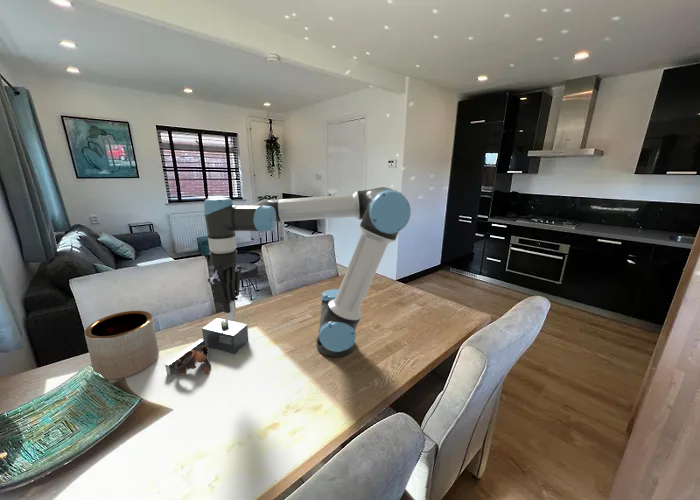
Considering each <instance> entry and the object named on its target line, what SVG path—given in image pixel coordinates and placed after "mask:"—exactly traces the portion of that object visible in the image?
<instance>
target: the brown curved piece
mask: <svg viewBox="0 0 700 500" xmlns="http://www.w3.org/2000/svg"><path fill="white" fill-rule="evenodd" d="M191 354H192V356H191V358H190V359H189V360H188V361H187V362H186V363H185V364H183V363H182V362H183V361H184V360H185V359H186V358H187V357H188V356H189V355H191ZM208 354H209V348H208V347H207V346H205V345H203V346H200V347H199V348H198V349H197V350H196V351H194V350H190V351H188V352H186V353H185V354H183V355H182V356H181V357H180V358H179V359H180V360H181V361H180V363H179V362H178V361H177V362H176V364H175V369H176V370H177V371H176V374H177V375H185V376H187V374H188V373H187V371H188V370H194V369H196V368H197V366H196V363H195V361H196V362H197V363H200V364H202V363H203V364H204V365H205V366H204V369H202V371H203V372H204V373H205V375H208V374H209V373H210V371H211V368H212V365H211V363H210V360H209V359H208ZM187 369H188V370H187Z"/></svg>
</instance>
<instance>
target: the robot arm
mask: <svg viewBox="0 0 700 500" xmlns="http://www.w3.org/2000/svg"><path fill="white" fill-rule="evenodd" d="M203 209H204V210H203V211H204V213H203V215H204V218H205V226H206V232H207V233H206V235H207V241H208V250H209V258H210V264H211V265H212V266H213V271H212V272H213V275H212V277H208V278H207V282H208V283H209V284H210V286H211V288H212V292H213V294H214V297H215V300H216V302H217V304H220V305H222V306H223V312H224V314H225V320H228V321H234V322H235V320H237V315H236V301H238V298H239V297H238V296H239V295H240V283H241V272H242V270H243V267H242V266H241V265H237V262H238V260H239V259H238V250H237V248H238V246H237V236H236V232H260V233H264V232H272V231H274V230H275V228H276V225H277V223H280V222H281V223H282V222H295V221H296V222H297V221H309V220H310V221H311V220H323V219H324V220H327V219H338V218H339V219H341V218H342V219H343V218H356V219H357V220H361V222H360V224H359V228H360V230H361V235H360V237H359V240H358V242H357V244H356V247H355V250H354V252H353V254H352V256H351V258H350V259H351V260H350V262H349V264H348V265H347V269H346V271H345V275H344V277H343V280H342V282H341V284H340V286H339V288H334V289H327V290H325V291H323V292H322V294H321V298H320V301H321V303H320V304H321V305H320V321H319V330H318V333H317V334H318V335H317V338H316V340H315V341H316V342H315V343H316V345H315V347H316V349H317V352H319V353H320V354H322V355H324V356H326V357H328V358H329V357H330V358H342V357H346V356H348V355H349V354H351V353H352V352H353V351H354V348H355V341H356V337H357V335H356V334H357V333H356V330H357V326H358V325H359V323H360V320H361V317H362V311H361V310H360V309H361V307H362V304H363V301H364V300H365V297H366V295H367V292H368V291H369V288H370V286H371V283H372V281H373V279H374V276H375V275H376V272H377V271H378V270H377V269H378V267H379V266H380V263H381V261H382V258H383V257H384V254H385V252H386V251H387V250H386V249H387V247H388V246H389V245H388V244H391V243H392V242H395V241H396V239H397V237H398V235H399V233H400V231H402V230H403V229H404V228H405V227H406V226H407V225H408V223H409V222H410V220H411V214H412V211H411V210H412V209H411V206H410V203H409V201H408V199H407V198H406V196H405V195H403V193H402V192H400V191H398V190H395V189H392V188H389V187H384V186H382V187H376V188H370V189H365V190H356V191H355V192H354V193H352V194H351V193H350V194H340V195H339V194H338V195H337V194H336V195H325V196H311V197H298V198H283V199H268V198H267V199H261V200H259V201H258V202H255V203H253V204H251V205H249V204H248V205H238V204H237V205H236V204H234V203H233V199H231V198H230V197H221V196H219V197H210V198H206V199H204V202H203Z"/></svg>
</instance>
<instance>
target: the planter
mask: <svg viewBox="0 0 700 500" xmlns="http://www.w3.org/2000/svg"><path fill="white" fill-rule="evenodd" d="M156 335H157V334H156V331H155V324H154V320H153V315H152V314H151V313H150V312H148V311H145V310H129V311H122V312H117V313H114V314H109V315H107V316H105V317H102V318H99V319H97V320H96V321H93V322H92V323H91V324H90V325H88V326H87V327H86V328H85V330H84V337H85V340H86V344H87V345H86V346H87V349H88V353H89V357H90V358H89V359H90V363H91V367H92V370H94V371H95V372H97V373H99V374H101V375H102V376H103V377H104V378H106V379H105V380H118V379H123V378H126V377H130V376H132V375H135V374H137V373H139V372H141V371H144V370H145V369H147V368H148V367H149V366H151V364H153V363H154V362H155V361H156V360H157V358H158V356H159V355H160V354H159V353H160V351H159V345H158V340H157V336H156ZM94 371H93V372H94Z"/></svg>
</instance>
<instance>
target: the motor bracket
mask: <svg viewBox="0 0 700 500" xmlns="http://www.w3.org/2000/svg"><path fill="white" fill-rule="evenodd" d="M248 327H249V326H248V323H243V322H239V321H238V322H237V321H235V320H234V321H228V320H226V318H225V319H224V318H219V317H216V318H215V319H213V320H212V321H211V322H209V323H208V324H206V325H204V326H203V327H202V328H201V331H202V338H200V339H199V340H198V341H196V342H195V343H193V344H192V345H190V346H189V347H188V348H186V349H185V350H183V351H182V352H180V353H179V354H177V355H176V356H175V357H173V358H172V359H170V360H169V361H168V362H166V363H165V371H166V375H168V376H172V375H173V374H174V373H177V370H176V369H175V364H176V362H177V361H178V362H179V363H180V361H181V360H180V359H179V358H180V357H181V356H182V355H183V354H185V353H186V352H188V351H190V350H194V351H196V350H197V349H198V348H199V347H200V346H203V345H205V346H207V348H208V349H213V350H215V351H216V350H217V351H219V352H220V351H221V352H223V353H227V354H232V355H236V354H238V352H240V350H242V349H243V348H244V347H245V346H246V345H247V344H248V343H249V342H250V341H249V329H248ZM191 356H192V354H191V355H189V356H188V357H187V358H186V359H185V360H184V361H183V362H182V363H183V364H185V363H186V362H187V361H188V360H189V359H190V358H191Z"/></svg>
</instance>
